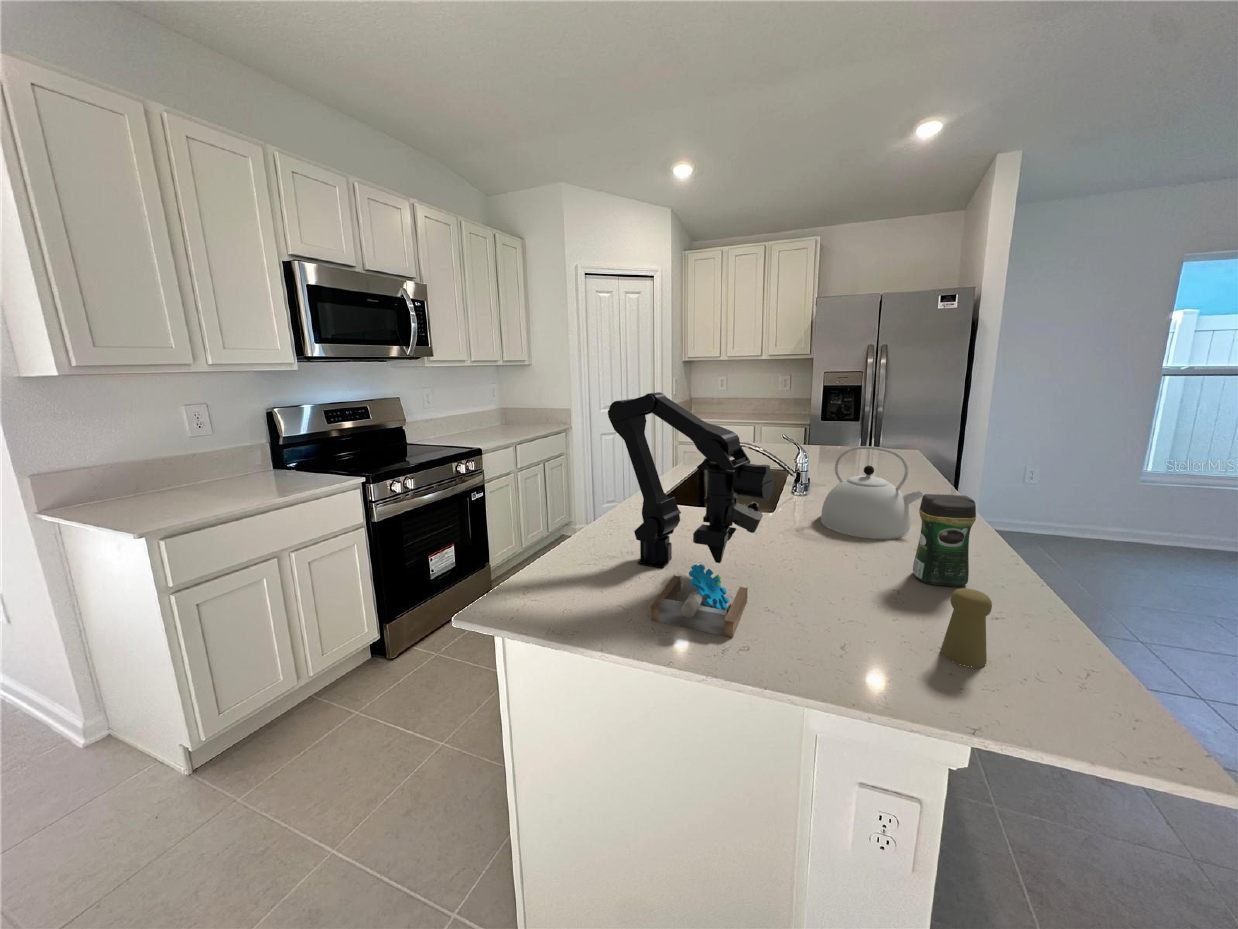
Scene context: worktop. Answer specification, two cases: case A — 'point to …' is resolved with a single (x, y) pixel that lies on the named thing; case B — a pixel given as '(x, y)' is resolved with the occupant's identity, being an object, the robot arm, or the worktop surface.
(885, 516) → the kettle
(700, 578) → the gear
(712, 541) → the robot arm
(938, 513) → the coffee jar
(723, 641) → the worktop surface
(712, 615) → the cradle
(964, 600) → the cork
